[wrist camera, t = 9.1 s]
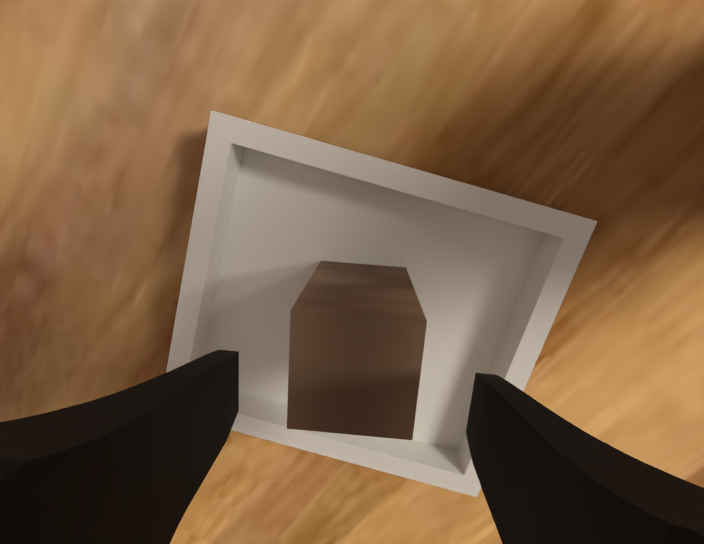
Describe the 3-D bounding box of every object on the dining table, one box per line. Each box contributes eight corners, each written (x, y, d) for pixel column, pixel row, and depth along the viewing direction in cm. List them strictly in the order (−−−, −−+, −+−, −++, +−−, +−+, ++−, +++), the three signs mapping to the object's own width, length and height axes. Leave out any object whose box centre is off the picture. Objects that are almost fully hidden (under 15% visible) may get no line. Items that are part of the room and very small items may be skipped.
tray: (566, 215, 18) (597, 221, 15) (464, 460, 21) (476, 497, 19) (233, 119, 17) (211, 110, 15) (184, 383, 21) (159, 410, 18)
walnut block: (406, 267, 18) (427, 321, 11) (397, 345, 19) (412, 440, 12) (321, 260, 18) (290, 310, 11) (316, 339, 19) (286, 428, 12)
